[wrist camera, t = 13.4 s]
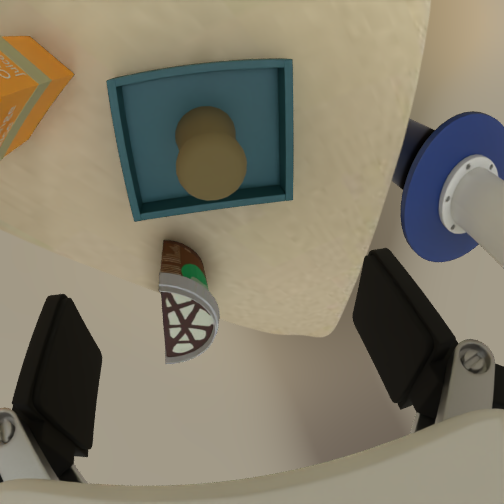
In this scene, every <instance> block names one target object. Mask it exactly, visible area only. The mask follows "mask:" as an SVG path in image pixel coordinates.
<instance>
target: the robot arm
mask: <svg viewBox="0 0 504 504" xmlns="http://www.w3.org/2000/svg"><path fill="white" fill-rule="evenodd" d="M439 216H440V220H441V222H442V224H443V225H444V226H445V227H446V228H447V229H448V230H449V231H450V232H452V233H455V234H462V233H466V232H467V233H468V234H469V235H470V236H471V237H472V238H473V239H474V240H475V241H476V242H477V243H478V244H479V245H480V246H481V247H483V248H484V249H485V250H486V251H487V252H488V253H489V254H490V255H491V256H492V257H493V258H494V259H495V260H496V261H497V262H498V263H499V264H500V265H501V266H502V267H503V268H504V180H502V179H501V178H499V177H498V172H497V169H496V167H495V165H494V163H493V162H492V161H491V160H490V159H488V158H487V157H485V156H483V155H478V154H475V155H470V156H468V157H466V158H464V159H463V160H462V161H460V162H459V163H458V164H457V165H456V166H455V167H454V168H453V170H452V171H451V173H450V174H449V175H448V177H447V179H446V181H445V183H444V185H443V188H442V191H441V195H440V199H439ZM353 322H354V325H355V327H356V329H357V331H358V333H359V334H360V336H361V339H362V341H363V343H364V344H365V347H366V348H367V351H368V353H369V355H370V357H371V359H372V361H373V363H374V365H375V367H376V369H377V370H378V373H379V375H380V377H381V379H382V381H383V383H384V385H385V387H386V390H387V391H388V394H389V396H390V398H391V400H392V401H393V402H394V403H398V406H399V407H400V409H403V408H406V407H409V406H411V405H413V406H414V408H415V410H416V416H415V419H414V422H413V426H412V429H411V432H410V434H409V435H407V436H405V437H402V438H399V439H396V440H393V441H391V442H388V443H385V444H382V445H379V446H377V447H374V448H371V449H368V450H365V451H362V452H359V453H356V454H352V455H349V456H346V457H342V458H339V459H336V460H332V461H328V462H325V463H320V464H316V465H312V466H308V467H304V468H300V469H296V470H291V471H286V472H281V473H276V474H270V475H265V476H259V477H253V478H247V479H240V480H231V481H223V482H214V483H203V484H190V485H171V486H123V485H102V484H88V483H87V482H86V480H85V479H84V478H83V476H82V475H81V473H80V472H79V471H78V469H77V468H76V466H75V465H74V456H81V457H88V449H91V447H92V443H93V431H94V420H95V411H96V401H97V394H98V386H99V379H100V372H101V365H102V355H101V351H100V349H99V348H98V346H97V344H96V343H95V341H94V339H93V337H92V336H91V334H90V332H89V331H88V329H87V327H86V325H85V323H84V321H83V320H82V318H81V316H80V314H79V312H78V310H77V308H76V306H75V304H74V302H73V301H72V299H71V298H68V297H67V296H66V295H65V294H59V295H51V296H48V297H47V299H46V301H45V304H44V306H43V309H42V311H41V314H40V316H39V319H38V322H37V324H36V327H35V330H34V332H33V335H32V338H31V341H30V344H29V347H28V350H27V353H26V356H25V359H24V362H23V365H22V369H21V372H20V375H19V379H18V382H17V386H16V389H15V393H14V397H13V401H12V404H13V408H12V410H11V409H9V408H0V504H504V367H503V366H500V365H498V364H495V360H494V356H493V354H492V352H491V350H490V349H489V348H488V347H487V346H486V345H485V344H484V343H482V342H480V341H478V340H473V339H467V340H464V341H462V342H460V343H459V344H458V342H457V341H456V338H455V336H454V335H453V333H452V332H451V330H450V329H449V328H448V326H447V325H446V323H445V322H444V320H443V319H442V318H441V316H440V315H439V313H438V312H437V311H436V309H435V308H434V307H433V305H432V304H431V302H430V301H429V300H428V298H427V297H426V296H425V294H424V293H423V292H422V290H421V289H420V288H419V287H418V285H417V284H416V283H415V281H414V280H413V279H412V277H411V276H410V275H409V274H408V272H407V271H406V270H405V269H404V267H403V266H402V265H401V264H400V262H399V261H398V260H397V259H396V257H395V256H394V255H393V254H392V252H391V251H390V250H389V249H387V248H383V249H377V250H371V251H370V252H369V254H368V256H365V258H364V262H363V268H362V273H361V278H360V283H359V288H358V292H357V297H356V302H355V306H354V311H353Z"/></svg>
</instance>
